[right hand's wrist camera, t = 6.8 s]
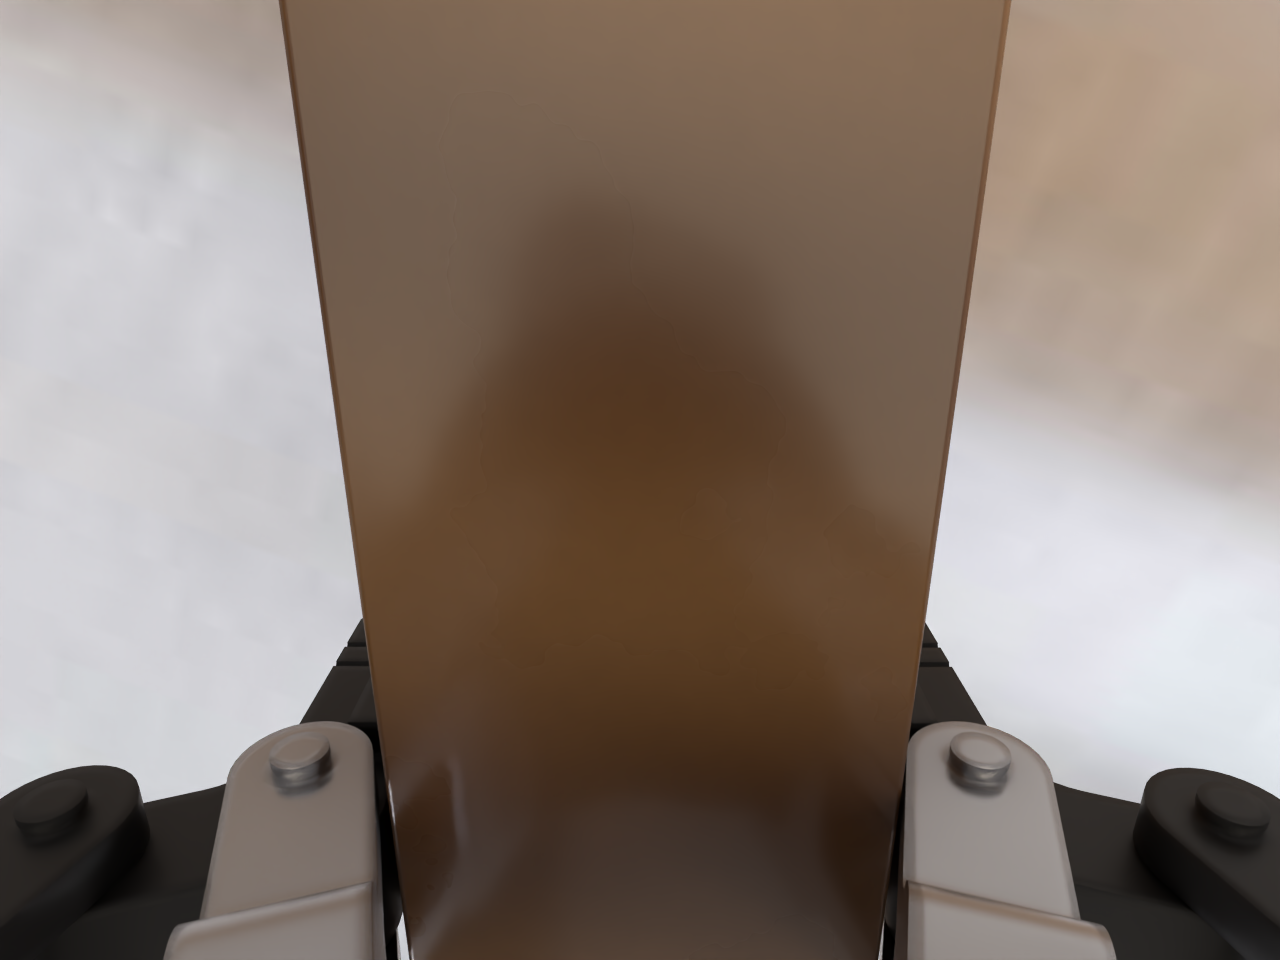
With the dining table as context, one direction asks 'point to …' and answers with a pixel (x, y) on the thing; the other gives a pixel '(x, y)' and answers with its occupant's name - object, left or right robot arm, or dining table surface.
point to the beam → (644, 444)
